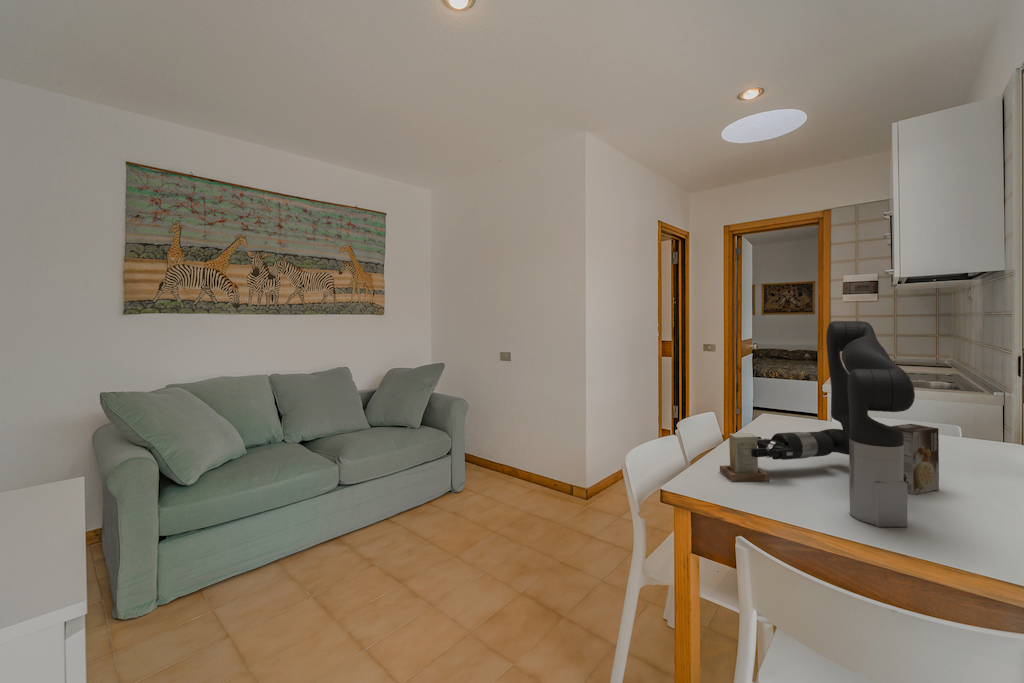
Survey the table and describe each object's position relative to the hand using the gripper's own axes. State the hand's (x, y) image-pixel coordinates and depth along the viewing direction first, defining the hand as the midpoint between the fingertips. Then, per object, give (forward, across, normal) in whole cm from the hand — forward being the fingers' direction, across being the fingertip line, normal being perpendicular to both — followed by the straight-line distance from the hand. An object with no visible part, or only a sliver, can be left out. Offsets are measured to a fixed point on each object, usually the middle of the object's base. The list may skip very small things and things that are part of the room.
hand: (742, 449), depth 124 cm
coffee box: (-36, +16, +8) cm, 40 cm away
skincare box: (0, 0, +8) cm, 8 cm away
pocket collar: (0, 0, +8) cm, 8 cm away
